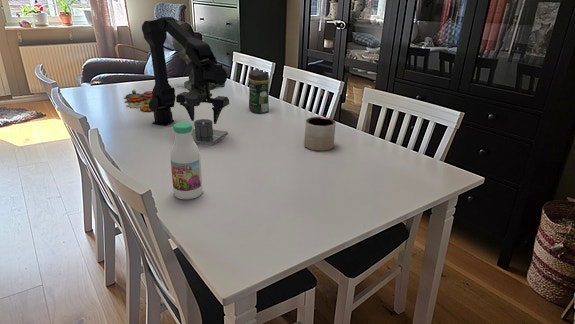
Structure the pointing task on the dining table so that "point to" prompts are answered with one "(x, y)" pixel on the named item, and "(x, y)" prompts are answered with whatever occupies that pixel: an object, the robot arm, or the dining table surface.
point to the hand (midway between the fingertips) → (203, 122)
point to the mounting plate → (209, 140)
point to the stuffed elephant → (183, 55)
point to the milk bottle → (185, 163)
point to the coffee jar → (258, 91)
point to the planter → (319, 133)
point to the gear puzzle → (139, 100)
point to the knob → (203, 128)
